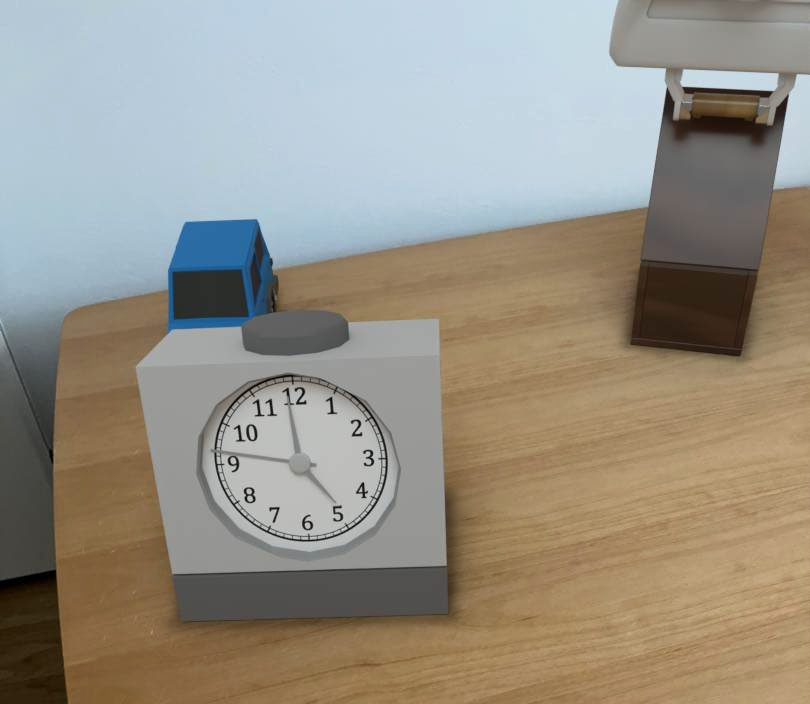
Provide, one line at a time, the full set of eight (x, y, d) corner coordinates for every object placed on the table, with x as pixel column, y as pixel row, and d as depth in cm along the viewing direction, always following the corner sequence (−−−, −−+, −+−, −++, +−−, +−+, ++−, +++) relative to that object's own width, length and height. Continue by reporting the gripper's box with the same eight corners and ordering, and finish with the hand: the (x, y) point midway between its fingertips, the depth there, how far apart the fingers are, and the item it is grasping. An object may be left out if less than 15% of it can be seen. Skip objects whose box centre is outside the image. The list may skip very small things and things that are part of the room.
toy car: (162, 407, 97) (138, 317, 90) (197, 302, 111) (178, 217, 104) (258, 405, 97) (241, 314, 90) (281, 299, 110) (267, 213, 103)
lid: (666, 88, 92) (666, 71, 87) (788, 94, 89) (795, 77, 85) (640, 260, 94) (639, 253, 90) (758, 271, 92) (763, 264, 87)
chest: (646, 271, 110) (656, 194, 104) (746, 280, 108) (762, 202, 102) (630, 344, 100) (639, 264, 94) (740, 356, 98) (757, 275, 92)
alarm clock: (180, 621, 77) (113, 408, 63) (211, 485, 88) (159, 278, 74) (448, 613, 76) (440, 395, 62) (444, 477, 88) (437, 266, 73)
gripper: (893, -69, 78) (848, 112, 87) (624, -72, 82) (610, 100, 92) (897, -44, 73) (849, 143, 83) (614, -49, 78) (600, 128, 88)
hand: (721, 120), depth 88 cm, fingers closed on lid, 5 cm apart
